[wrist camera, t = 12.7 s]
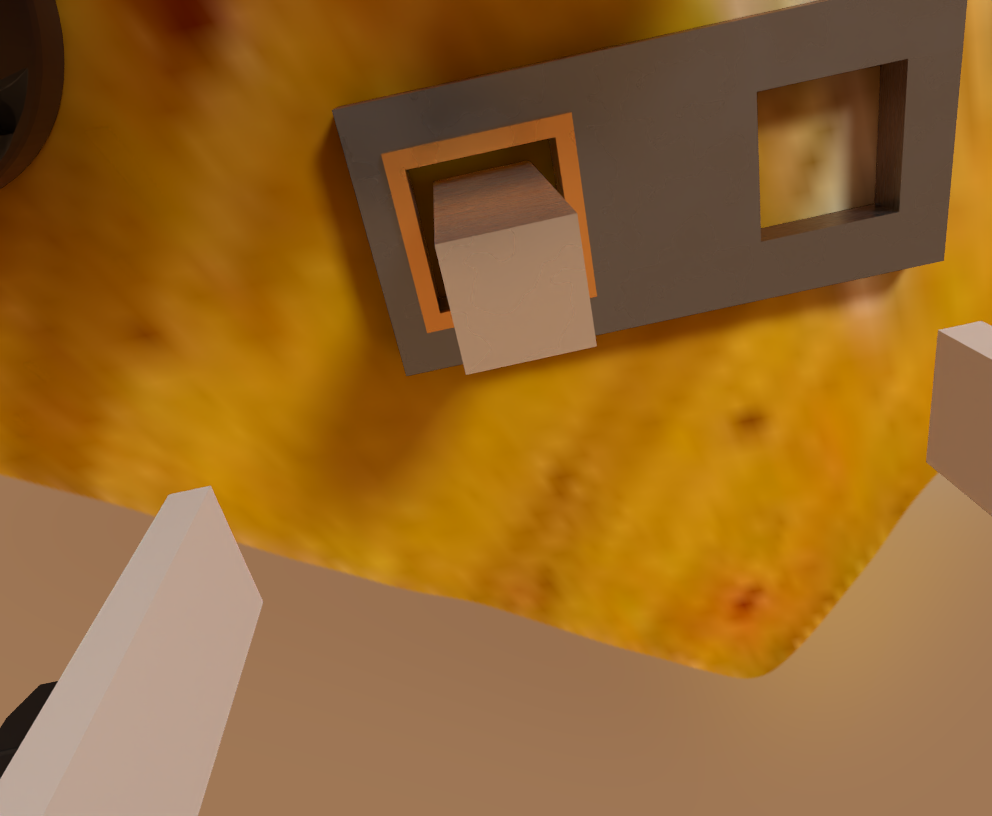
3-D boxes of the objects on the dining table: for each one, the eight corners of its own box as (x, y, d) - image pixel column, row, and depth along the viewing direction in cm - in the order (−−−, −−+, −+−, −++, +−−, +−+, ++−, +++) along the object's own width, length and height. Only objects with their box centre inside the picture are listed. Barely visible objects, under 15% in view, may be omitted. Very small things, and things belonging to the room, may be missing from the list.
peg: (455, 274, 34) (465, 375, 24) (433, 181, 32) (434, 244, 22) (544, 254, 34) (596, 346, 24) (528, 160, 32) (577, 213, 22)
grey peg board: (407, 360, 36) (406, 378, 34) (337, 106, 31) (331, 110, 29) (918, 250, 36) (947, 262, 34) (938, -26, 30) (974, -32, 28)
